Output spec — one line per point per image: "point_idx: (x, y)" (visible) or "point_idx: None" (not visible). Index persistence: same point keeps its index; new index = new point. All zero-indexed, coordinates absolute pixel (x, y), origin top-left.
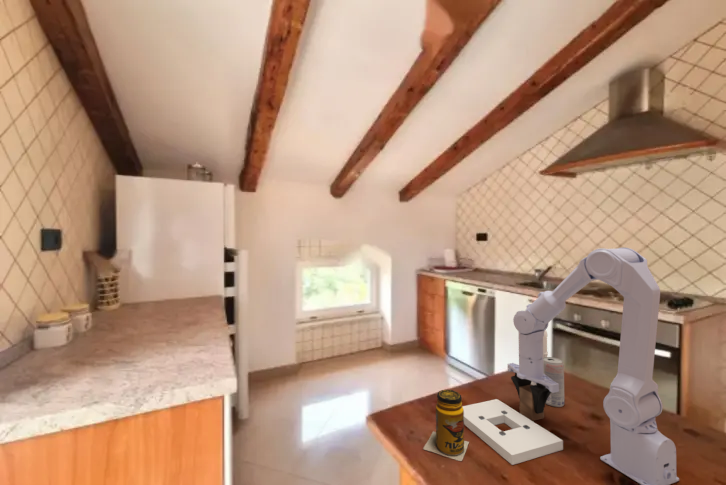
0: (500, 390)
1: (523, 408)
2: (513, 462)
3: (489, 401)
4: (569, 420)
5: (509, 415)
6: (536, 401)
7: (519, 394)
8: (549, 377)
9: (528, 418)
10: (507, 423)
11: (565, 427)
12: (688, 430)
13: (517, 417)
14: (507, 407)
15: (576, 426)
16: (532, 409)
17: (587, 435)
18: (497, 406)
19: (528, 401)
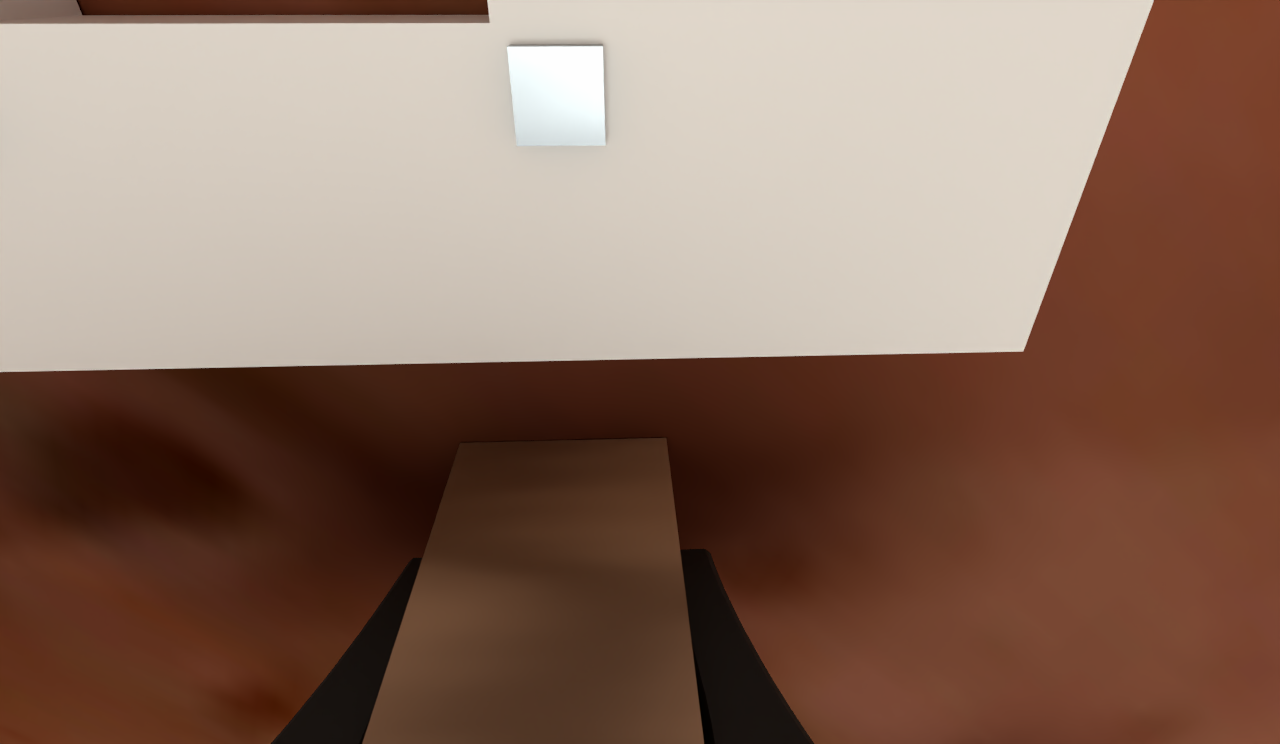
0: (1165, 580)
1: (600, 506)
2: None
3: (1068, 146)
4: None
5: (438, 125)
6: (287, 739)
7: (727, 674)
8: None
9: (519, 442)
10: (422, 16)
11: (277, 622)
12: None
13: (334, 222)
14: (709, 312)
15: (286, 694)
16: (426, 566)
17: (127, 674)
18: (830, 157)
19: (472, 647)
